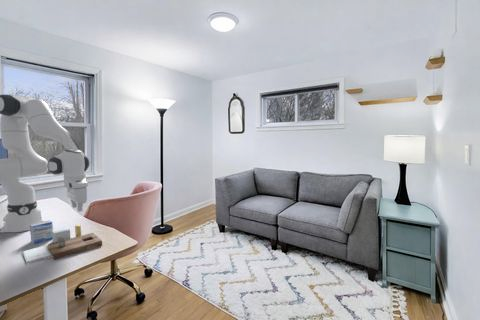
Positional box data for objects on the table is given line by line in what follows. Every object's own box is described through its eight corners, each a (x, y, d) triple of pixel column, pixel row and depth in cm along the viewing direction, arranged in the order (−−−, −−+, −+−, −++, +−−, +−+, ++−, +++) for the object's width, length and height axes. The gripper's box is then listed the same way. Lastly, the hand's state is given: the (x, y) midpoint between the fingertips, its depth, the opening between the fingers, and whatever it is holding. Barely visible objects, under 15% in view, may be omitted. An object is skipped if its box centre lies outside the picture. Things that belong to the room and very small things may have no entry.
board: (48, 249, 108) (47, 235, 107) (93, 237, 121) (92, 225, 121) (54, 259, 99) (53, 244, 99) (102, 245, 112) (101, 232, 112)
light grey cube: (55, 245, 112) (54, 233, 111) (52, 241, 116) (51, 229, 115) (70, 241, 116) (69, 229, 116) (67, 237, 120) (66, 226, 120)
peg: (75, 237, 121) (74, 225, 121) (80, 235, 123) (79, 224, 122) (76, 238, 120) (75, 227, 119) (82, 237, 121) (81, 225, 121)
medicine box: (33, 244, 113) (31, 226, 112) (30, 241, 116) (29, 224, 115) (53, 238, 120) (52, 221, 119) (50, 236, 122) (49, 219, 121)
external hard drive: (46, 248, 110) (52, 257, 102) (22, 254, 104) (26, 265, 96) (46, 245, 110) (52, 254, 102) (22, 251, 104) (26, 261, 96)
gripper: (62, 180, 123) (64, 206, 124) (73, 185, 109) (75, 215, 111) (76, 178, 128) (78, 204, 129) (88, 183, 114) (90, 212, 115)
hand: (77, 209), depth 120 cm, fingers open, 8 cm apart
